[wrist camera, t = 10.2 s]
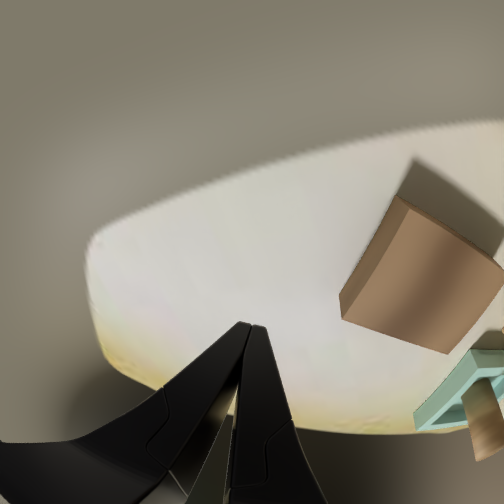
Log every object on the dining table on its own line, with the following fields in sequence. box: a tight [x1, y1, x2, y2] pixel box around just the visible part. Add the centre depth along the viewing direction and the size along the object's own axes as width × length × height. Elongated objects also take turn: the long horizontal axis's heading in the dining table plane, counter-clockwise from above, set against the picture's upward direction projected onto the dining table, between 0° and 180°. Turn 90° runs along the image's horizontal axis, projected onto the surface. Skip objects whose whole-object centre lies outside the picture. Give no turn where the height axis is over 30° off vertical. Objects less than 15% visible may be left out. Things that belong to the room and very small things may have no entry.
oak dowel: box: [461, 378, 504, 461], centre depth 12 cm, size 3×3×7 cm
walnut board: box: [339, 195, 504, 355], centre depth 12 cm, size 8×6×2 cm
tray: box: [413, 349, 504, 431], centre depth 15 cm, size 9×9×2 cm
